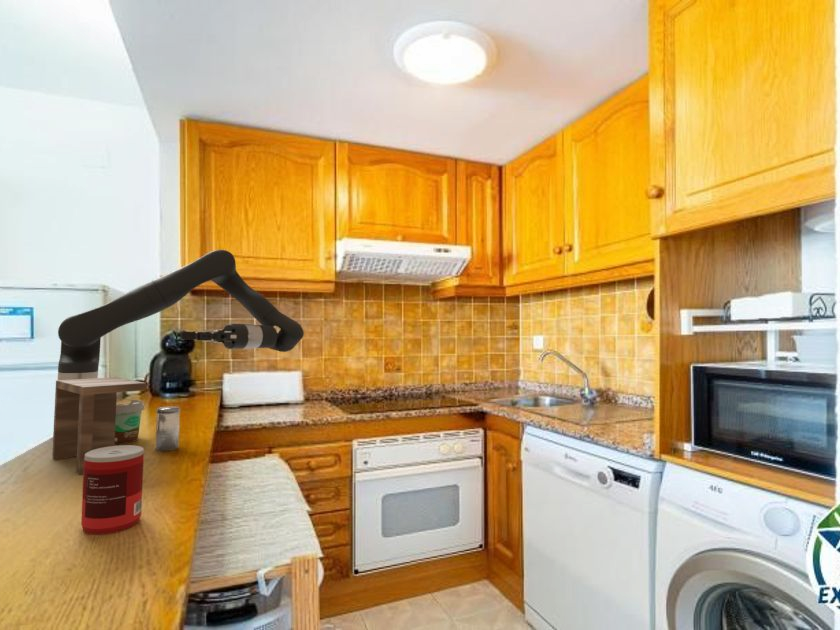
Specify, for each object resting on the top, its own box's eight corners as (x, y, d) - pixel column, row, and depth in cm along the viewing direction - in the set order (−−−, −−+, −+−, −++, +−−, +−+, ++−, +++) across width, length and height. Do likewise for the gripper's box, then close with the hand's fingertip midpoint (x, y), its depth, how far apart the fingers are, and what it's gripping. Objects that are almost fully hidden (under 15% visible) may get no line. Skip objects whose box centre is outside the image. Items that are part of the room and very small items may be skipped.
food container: (124, 446, 118) (125, 406, 118) (100, 446, 118) (101, 406, 118) (153, 436, 130) (154, 399, 131) (131, 435, 130) (132, 399, 131)
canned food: (130, 510, 76) (132, 442, 77) (149, 523, 71) (152, 450, 72) (73, 524, 70) (76, 451, 71) (90, 540, 65) (94, 460, 66)
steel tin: (151, 448, 116) (152, 408, 116) (172, 444, 120) (174, 405, 121) (161, 452, 113) (162, 410, 113) (182, 448, 117) (184, 408, 117)
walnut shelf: (52, 458, 106) (55, 380, 106) (112, 449, 115) (115, 377, 116) (79, 474, 95) (83, 387, 95) (143, 462, 104) (146, 382, 105)
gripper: (230, 323, 144) (176, 322, 132) (256, 323, 136) (201, 322, 123) (229, 348, 144) (175, 348, 131) (256, 349, 135) (200, 350, 122)
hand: (188, 335), depth 127 cm, fingers open, 8 cm apart
